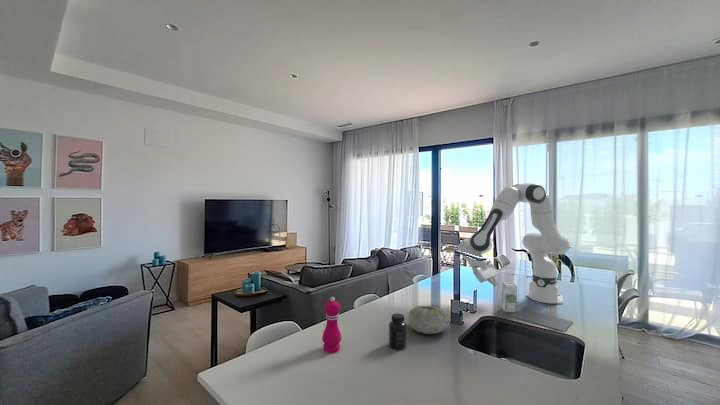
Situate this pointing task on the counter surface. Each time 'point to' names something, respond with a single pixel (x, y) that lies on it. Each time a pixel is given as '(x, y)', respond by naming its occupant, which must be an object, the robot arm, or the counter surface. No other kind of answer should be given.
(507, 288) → the syrup box
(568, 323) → the charcoal mat
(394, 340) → the supplement bottle
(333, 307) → the pepper mill
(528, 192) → the robot arm
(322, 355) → the counter surface
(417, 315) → the decorative shell
